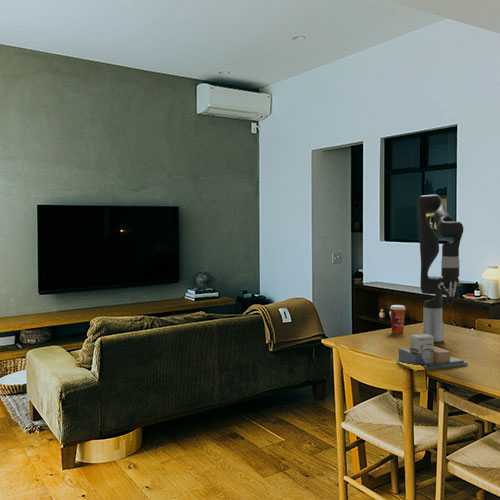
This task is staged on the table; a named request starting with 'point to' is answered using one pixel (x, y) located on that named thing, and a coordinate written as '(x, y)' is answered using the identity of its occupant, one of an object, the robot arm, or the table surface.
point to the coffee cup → (397, 318)
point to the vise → (416, 359)
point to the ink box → (423, 346)
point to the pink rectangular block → (440, 355)
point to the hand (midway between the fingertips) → (450, 304)
